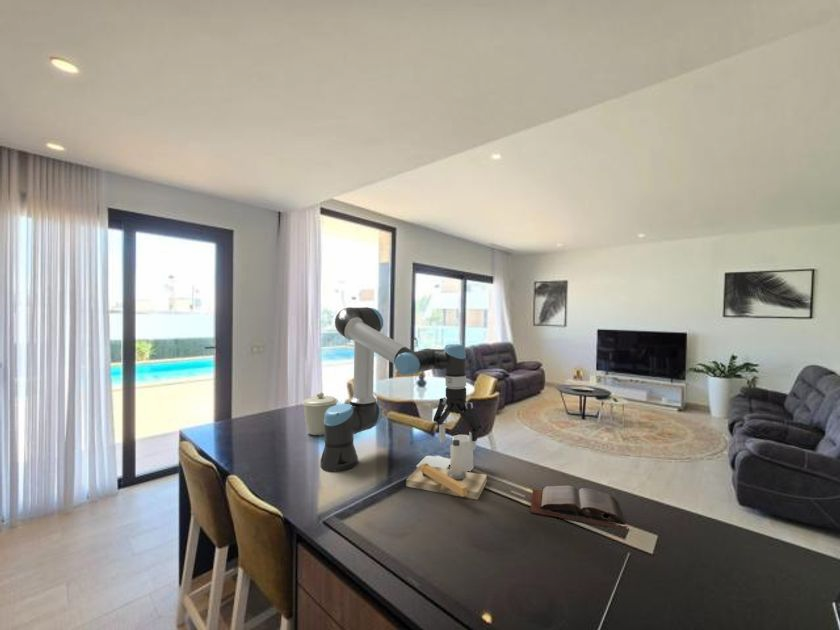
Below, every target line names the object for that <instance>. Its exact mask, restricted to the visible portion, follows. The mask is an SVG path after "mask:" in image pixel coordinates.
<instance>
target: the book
mask: <svg viewBox="0 0 840 630" xmlns="http://www.w3.org/2000/svg"><path fill="white" fill-rule="evenodd" d="M539 489H540V488H539V487H537V489H535V488H534V487H533V488H532V495H531V501H530V502H531V503H530V510H529V511H530V512H529V513H533V514H539V515H543V516H549V517H556V518H561V519H565V520H570V521H576V522H580V523H585V524H592V525H595V526H596V525H597V526H601V527H607V528H611V529H617V530H618V529H619V530H627V531H631V532H632V530H630V529H627V528H629V526H625V525H626V521H625V520H624V519H625V518H624V516H623V513H622V511H621V507H620V505H619V502H618V500H617V499H616V498H615V497H614V496H613V495H611V494H608V493H604V492H601V491H598V490H594V489H590V488H584V487H583V488H582V487H581V488H579V489H578V488H576V487H575V486H572V485H555V486H554V485H553V486H552V485H547V486H544V488H543V489H541V490H539ZM604 515H608V517H607V518H606V517H604ZM616 524H617V526H618V527H617V526H616ZM623 525H624V526H623Z"/></svg>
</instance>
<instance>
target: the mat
mask: <svg viewBox="0 0 840 630" xmlns="http://www.w3.org/2000/svg"><path fill="white" fill-rule="evenodd" d="M422 463H427V464H428V465H430V466H434V467H440V468H446V469H449V468H450V466H449V465H450V458H447V457H440V456H434V455H426V456H424V458H423V459H422V460H421V461H420V462H418V464H416V466H415V468H416V469H417V468H418V467H419V466H420V465H421V464H422Z"/></svg>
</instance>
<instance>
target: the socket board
mask: <svg viewBox="0 0 840 630" xmlns="http://www.w3.org/2000/svg"><path fill="white" fill-rule="evenodd" d="M431 467H433V468H435V469H437V470H438V471H440V472H442V473H444V474H446V475H447V473H448V472H449V471H450V468H447V469H446V468H440V467H434V466H431ZM464 472H465V471H464ZM465 473H466V477H465V478H464V479H463V480H462V481H460V480H456V481H458V482H460V483H461V484H463V485H465V486H467V495H466V496H463V497H462V496H460V495H459V494H457V493H456V492H454V491H452V490H451V489H449V488H447V487H446V486H444V485H442V484H441V483H439V482H438V481H436V480H434V479H433V478H431V477H429V476H428V475H426V474H424V473H422V472H421V465H420V466H419V467H418V468H416V469H415V470H414V471H413V472H412V473H411V474H410V475H409V476H408V477H407V478H406V480H405V481H406V483H405V486H406V487H409V488H412V489H419V490H425V491H428V492H434V493H440V494H446V495H451V496H456V497H461V498H467V499H472V500H476V501H478V500H479V498H480V496H481V494H482V492H483V490H484V488H485V486H486V484H487V480H488V479H487V476H488V475H487V474H484V473H477V472H471V471H469V472H465Z"/></svg>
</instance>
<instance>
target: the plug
mask: <svg viewBox="0 0 840 630" xmlns="http://www.w3.org/2000/svg"><path fill="white" fill-rule="evenodd" d="M449 446H450V447H449V451H450V452H449V456H450V457H449V459H450V466H449V469H450V471H449V472H448V473H447V476H449V477H451V478H453V479H454V480H460V481H462V480H463V479H464V478H465V477H466V473H465V472H464V471H463V464H462V444H461V443H460V441H459V440H453V439H452V442H451V443H450V444H449Z"/></svg>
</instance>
